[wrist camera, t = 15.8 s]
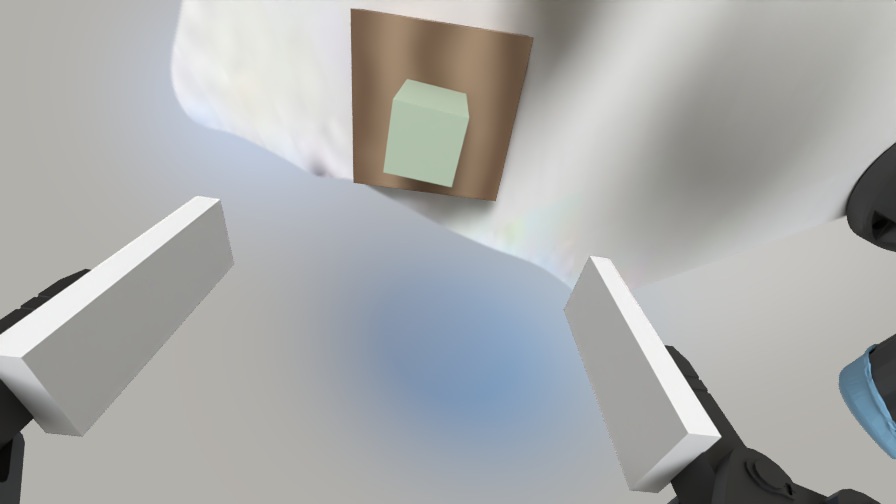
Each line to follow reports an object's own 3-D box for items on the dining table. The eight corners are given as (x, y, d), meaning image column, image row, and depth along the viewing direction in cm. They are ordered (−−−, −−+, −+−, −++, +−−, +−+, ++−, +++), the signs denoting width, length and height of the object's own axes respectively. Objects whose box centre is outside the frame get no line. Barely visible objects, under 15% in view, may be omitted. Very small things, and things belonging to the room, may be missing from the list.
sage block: (466, 93, 30) (469, 117, 23) (452, 151, 32) (451, 187, 26) (407, 78, 29) (392, 99, 22) (398, 138, 32) (383, 172, 25)
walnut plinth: (525, 35, 31) (533, 38, 27) (492, 184, 38) (495, 201, 35) (362, 8, 30) (350, 8, 26) (362, 167, 37) (353, 182, 34)
